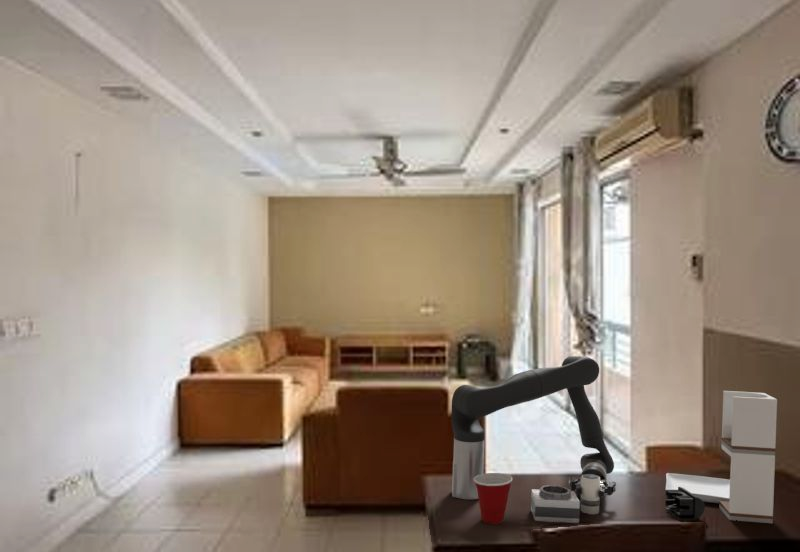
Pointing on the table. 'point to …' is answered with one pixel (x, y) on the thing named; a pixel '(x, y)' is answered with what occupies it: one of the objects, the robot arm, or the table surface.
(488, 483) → the plastic cup
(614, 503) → the table surface
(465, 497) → the robot arm
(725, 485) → the salad plate
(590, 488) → the lens barrel
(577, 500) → the banded square pedestal
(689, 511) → the end cap
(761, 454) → the white shelf tower
